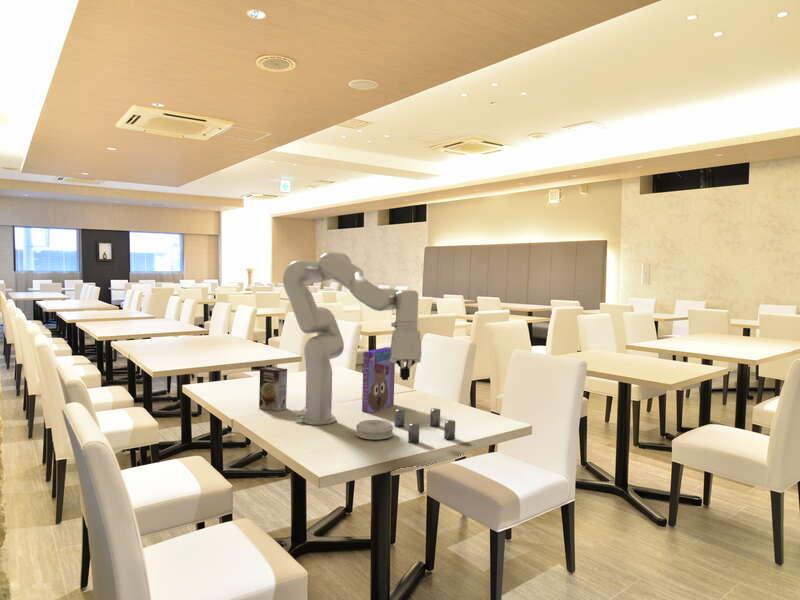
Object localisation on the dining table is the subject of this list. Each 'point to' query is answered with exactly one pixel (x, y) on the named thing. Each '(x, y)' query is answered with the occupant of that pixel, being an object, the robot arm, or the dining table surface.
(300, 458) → the dining table surface
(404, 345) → the robot arm
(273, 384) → the coffee box
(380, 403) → the cereal box
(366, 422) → the lid
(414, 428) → the post field
